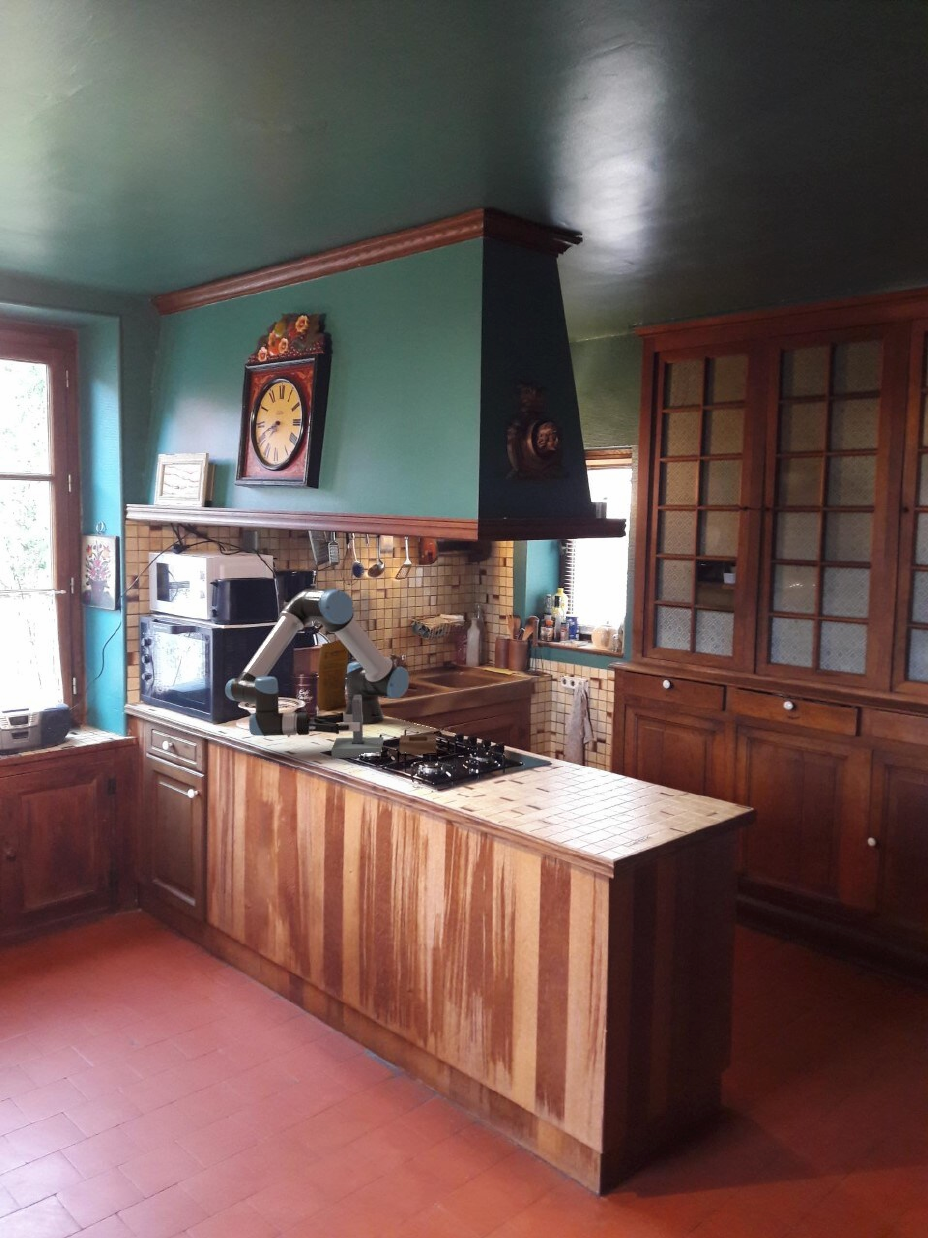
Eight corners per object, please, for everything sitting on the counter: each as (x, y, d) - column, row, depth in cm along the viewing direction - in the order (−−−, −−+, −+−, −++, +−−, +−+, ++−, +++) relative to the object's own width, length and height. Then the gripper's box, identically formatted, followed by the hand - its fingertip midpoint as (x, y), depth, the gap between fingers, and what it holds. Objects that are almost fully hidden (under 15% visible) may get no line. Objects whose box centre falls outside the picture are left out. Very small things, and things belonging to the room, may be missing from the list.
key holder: (400, 746, 338) (400, 735, 338) (436, 746, 338) (436, 734, 338) (399, 755, 326) (399, 743, 326) (436, 754, 327) (436, 742, 326)
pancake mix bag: (356, 705, 415) (354, 638, 412) (322, 712, 400) (321, 643, 397) (344, 703, 419) (342, 637, 416) (311, 711, 404) (309, 642, 401)
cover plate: (336, 746, 340) (336, 738, 339) (383, 745, 340) (383, 737, 340) (331, 757, 324) (331, 748, 323) (381, 756, 324) (380, 747, 324)
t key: (355, 748, 337) (353, 694, 335) (363, 748, 337) (362, 694, 335) (352, 755, 327) (351, 700, 325) (361, 755, 327) (360, 699, 325)
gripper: (302, 727, 343) (364, 725, 343) (291, 743, 318) (358, 742, 319) (301, 705, 342) (363, 704, 343) (291, 720, 317) (357, 719, 318)
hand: (361, 722), depth 331 cm, fingers open, 13 cm apart
